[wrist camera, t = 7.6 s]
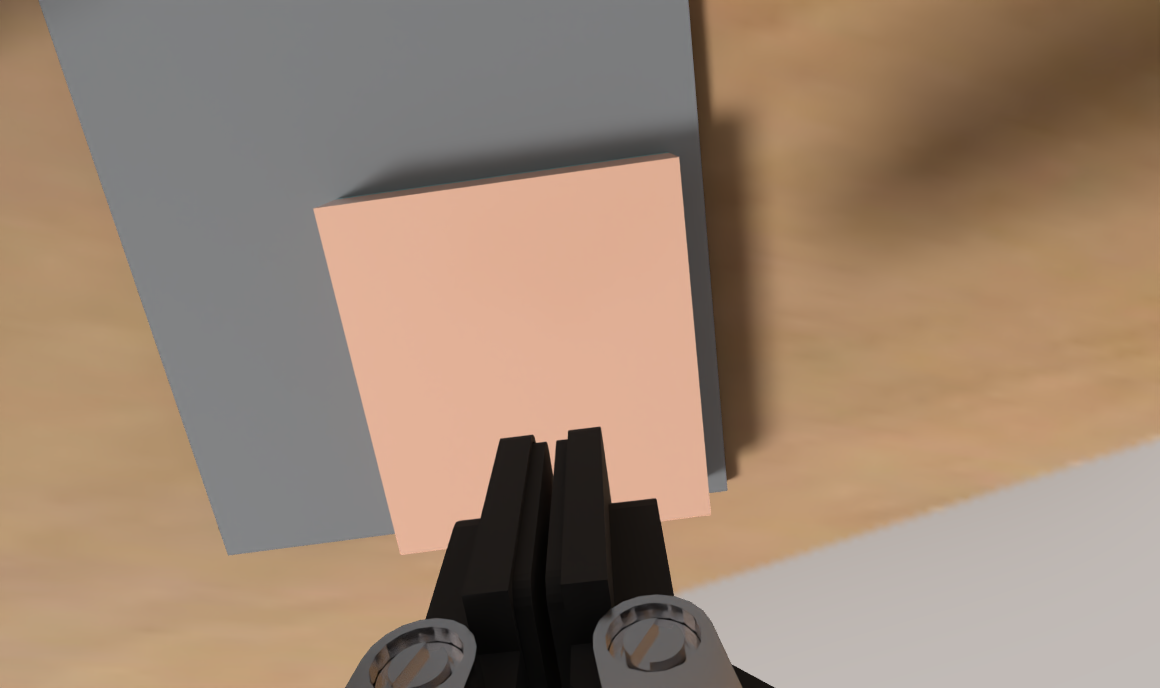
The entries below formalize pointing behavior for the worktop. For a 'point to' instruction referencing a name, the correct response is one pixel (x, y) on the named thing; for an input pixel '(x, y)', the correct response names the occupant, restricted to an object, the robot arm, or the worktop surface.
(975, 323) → the worktop surface
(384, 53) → the mat
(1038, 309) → the worktop surface
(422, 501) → the tile
